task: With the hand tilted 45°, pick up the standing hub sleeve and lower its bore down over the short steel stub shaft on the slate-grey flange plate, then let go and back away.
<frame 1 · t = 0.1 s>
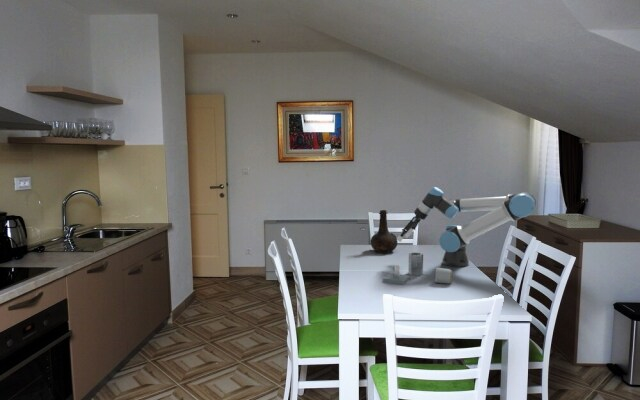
hand: (401, 238, 270), 15 cm above the table, tool tilted 35°, fingers open, 13 cm apart
peg block: (396, 280, 236), on the table
ceramic mug: (442, 282, 232), on the table
hub: (415, 273, 249), on the table
dark brown rounded piece: (383, 251, 306), on the table
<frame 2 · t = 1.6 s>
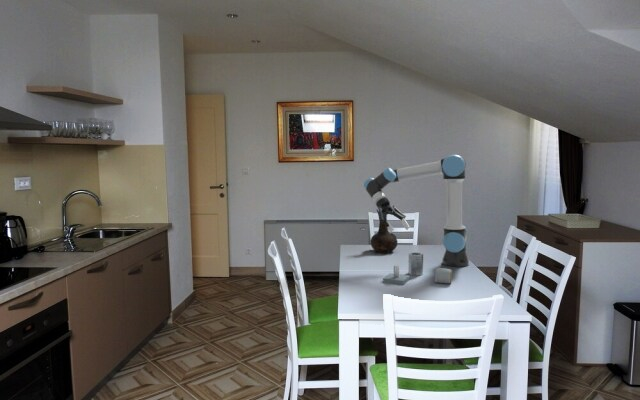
hand: (400, 229, 255), 23 cm above the table, tool tilted 45°, fingers open, 13 cm apart
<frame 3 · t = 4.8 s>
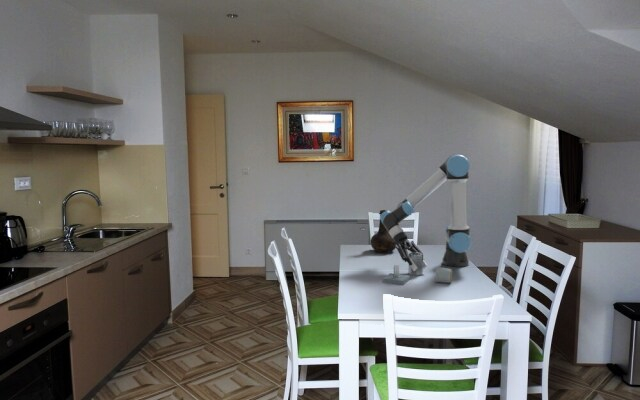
hand: (420, 268, 246), 4 cm above the table, tool tilted 45°, fingers closed on hub, 8 cm apart
hub: (415, 273, 249), on the table, touching gripper
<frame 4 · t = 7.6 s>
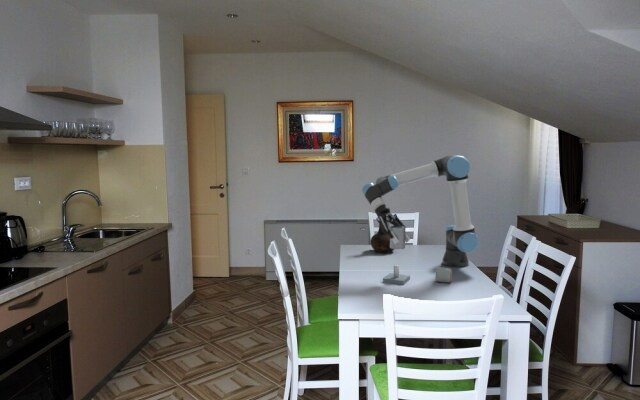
hand: (402, 242, 233), 20 cm above the table, tool tilted 45°, fingers closed on hub, 8 cm apart
hub: (397, 247, 236), point 17 cm above the table, touching gripper
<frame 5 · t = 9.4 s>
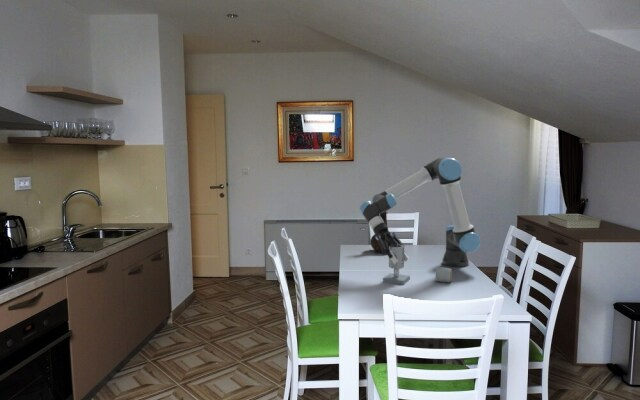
hand: (401, 261, 232), 11 cm above the table, tool tilted 45°, fingers closed on hub, 8 cm apart
hub: (396, 266, 235), point 7 cm above the table, touching gripper
when the fingers open (8 cm above the table, at t = 10.7 s): hub drops 2 cm, resting on peg block.
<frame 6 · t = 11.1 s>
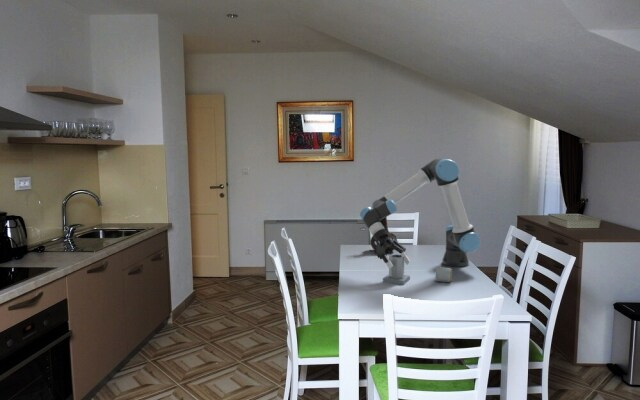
hand: (400, 265, 233), 9 cm above the table, tool tilted 45°, fingers open, 13 cm apart
hub: (396, 276, 235), point 2 cm above the table, touching peg block
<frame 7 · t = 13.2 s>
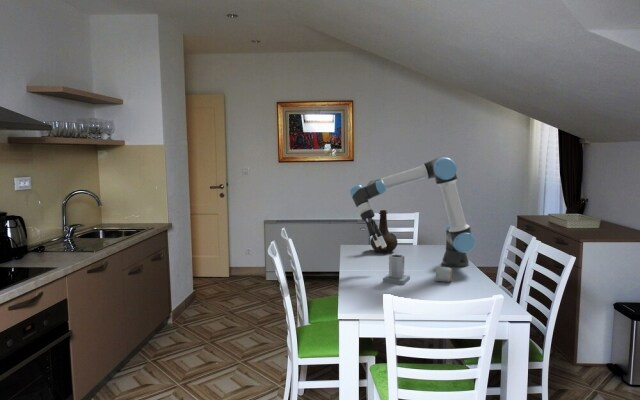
hand: (381, 246, 247), 15 cm above the table, tool tilted 30°, fingers open, 13 cm apart
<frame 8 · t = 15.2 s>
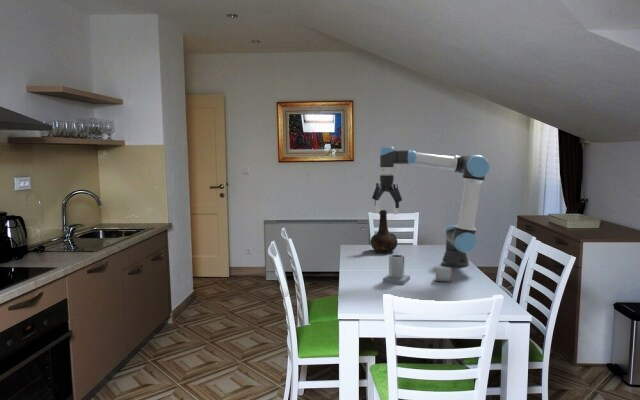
hand: (386, 212, 254), 33 cm above the table, tool pointing down, fingers open, 13 cm apart
at the end: hub 0.1 cm off-centre on the peg block, point 2.0 cm above the peg block's base; hub tilted 0°; the gripper is holding nothing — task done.
